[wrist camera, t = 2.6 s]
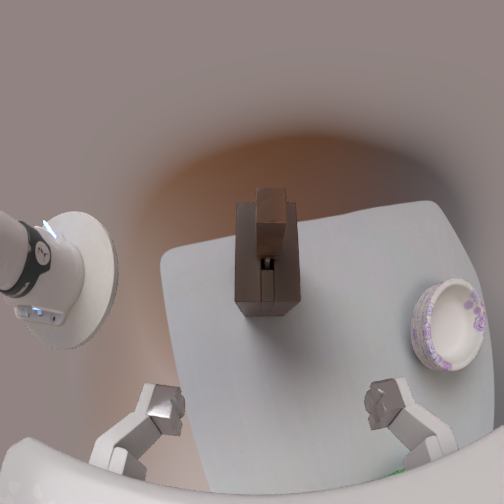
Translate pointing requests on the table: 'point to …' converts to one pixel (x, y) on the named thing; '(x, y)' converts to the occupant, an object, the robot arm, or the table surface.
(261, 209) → the knife
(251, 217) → the knife block
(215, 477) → the table surface
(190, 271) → the table surface
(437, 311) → the paper bowls
